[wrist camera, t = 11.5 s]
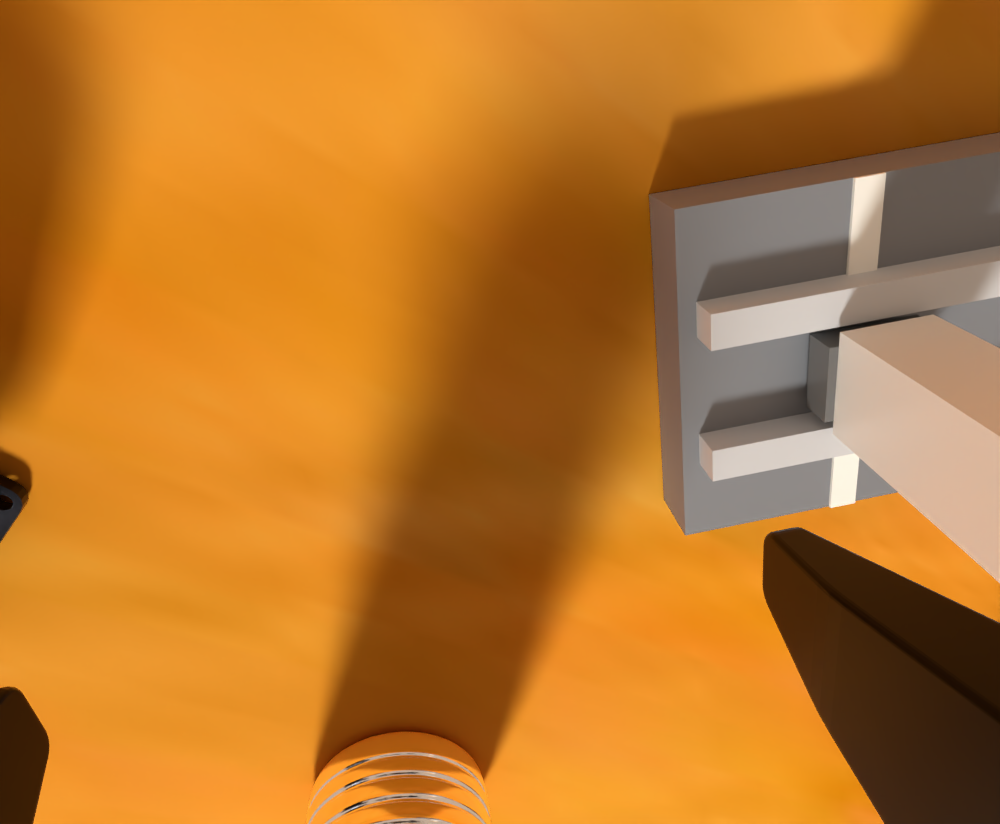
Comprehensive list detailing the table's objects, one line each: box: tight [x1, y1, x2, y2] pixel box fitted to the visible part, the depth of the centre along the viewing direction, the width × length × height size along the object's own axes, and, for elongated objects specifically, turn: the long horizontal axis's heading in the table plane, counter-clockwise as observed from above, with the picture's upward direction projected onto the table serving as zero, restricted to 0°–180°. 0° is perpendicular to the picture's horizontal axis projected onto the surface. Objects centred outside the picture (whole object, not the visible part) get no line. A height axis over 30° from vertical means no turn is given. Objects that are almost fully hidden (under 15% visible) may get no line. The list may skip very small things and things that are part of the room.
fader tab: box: [806, 314, 1000, 583], centre depth 16 cm, size 3×3×10 cm
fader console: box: [649, 132, 1000, 535], centre depth 22 cm, size 18×10×3 cm, turn 98°
